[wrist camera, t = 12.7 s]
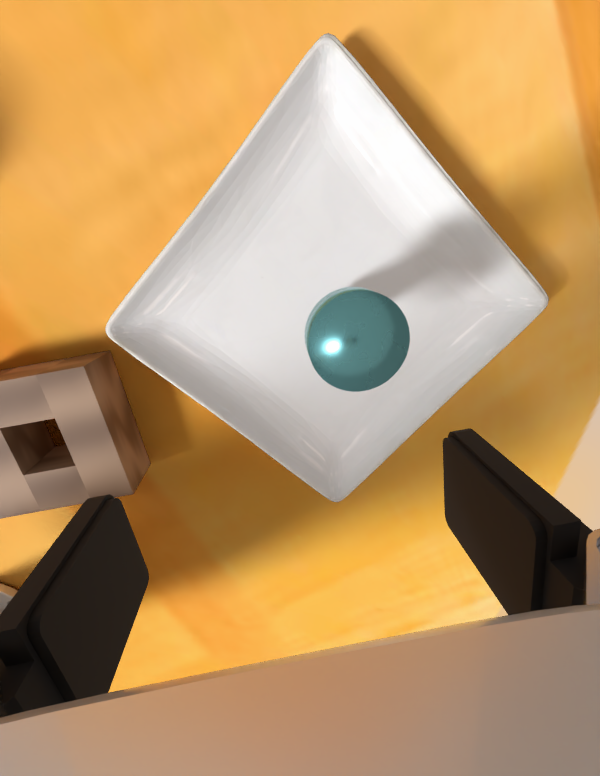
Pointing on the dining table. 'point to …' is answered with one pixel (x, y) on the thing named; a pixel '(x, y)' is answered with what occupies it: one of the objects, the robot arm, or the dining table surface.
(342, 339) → the pin
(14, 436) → the block
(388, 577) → the dining table surface
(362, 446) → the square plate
